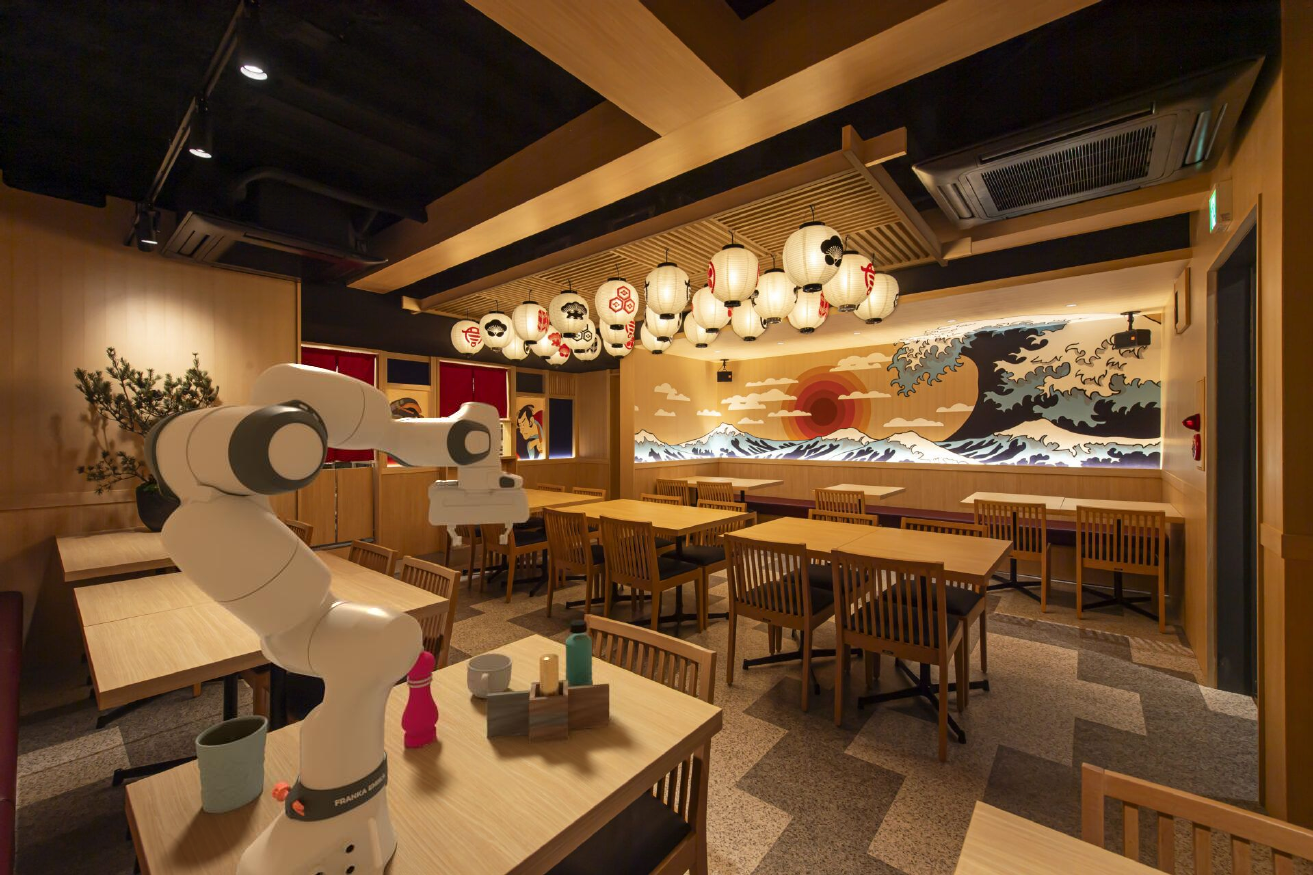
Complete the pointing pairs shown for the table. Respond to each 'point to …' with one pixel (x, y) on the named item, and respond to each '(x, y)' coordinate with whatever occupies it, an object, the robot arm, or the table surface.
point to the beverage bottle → (578, 655)
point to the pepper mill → (420, 704)
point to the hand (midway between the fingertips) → (480, 544)
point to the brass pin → (549, 675)
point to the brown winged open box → (547, 712)
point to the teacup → (488, 674)
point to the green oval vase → (231, 763)
